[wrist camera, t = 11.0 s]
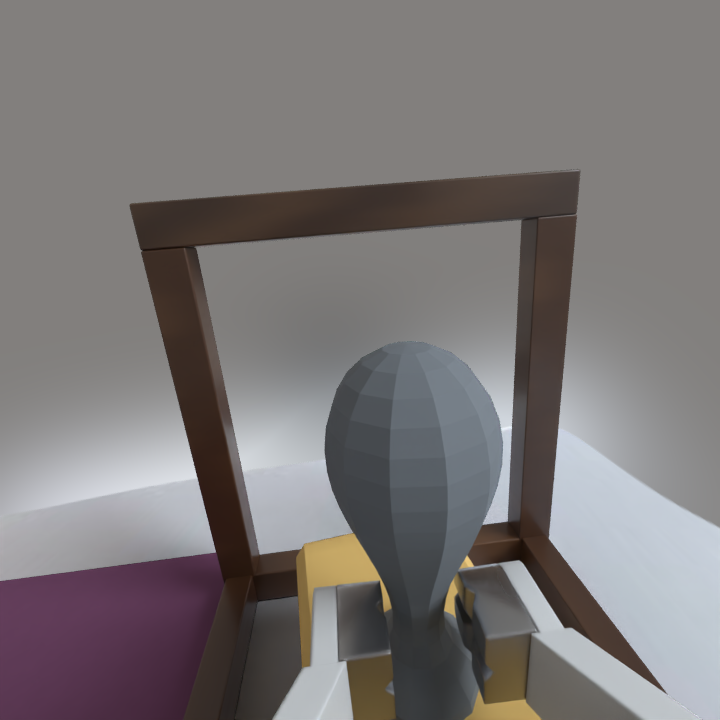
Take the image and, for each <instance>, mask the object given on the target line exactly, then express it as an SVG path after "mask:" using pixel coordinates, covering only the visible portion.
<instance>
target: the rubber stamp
mask: <svg viewBox="0 0 720 720" xmlns="http://www.w3.org/2000/svg"><path fill="white" fill-rule="evenodd" d="M502 454H503V440H502V433H501V427H500V421H499V417H498V415H497V412H496V410H495V407H494V404H493V402H492V399H491V397H490V395H489V394H488V393H487V391H486V390H485V388H484V387H483V386H482V385H481V383H480V381H479V380H478V379H477V378H476V376H475V375H474V373H473V372H472V371H471V369H470V368H469V367H468V365H467V364H465V363H464V362H463V361H462V360H460V359H459V358H458V357H456V356H455V355H454V354H453V353H451V352H449V351H446V350H444V349H441V348H438V347H436V346H433V345H430V344H427V343H424V342H414V341H407V342H397V343H392V344H388V345H386V346H384V347H382V348H380V349H378V350H376V351H374V352H372V353H370V354H368V355H366V356H364V357H362V358H361V359H360V360H359V361H358V362H357V363H356V364H355V365H354V366H353V367H352V368H351V369H350V370H349V371H348V372H347V373H346V375H345V376H344V378H343V380H342V382H341V383H340V385H339V387H338V388H337V391H336V394H335V397H334V400H333V404H332V407H331V411H330V415H329V418H328V422H327V425H326V436H325V458H326V467H327V473H328V476H329V480H330V483H331V487H332V491H333V493H334V495H335V498H336V500H337V502H338V505H339V507H340V509H341V511H342V513H343V515H344V517H345V519H346V521H347V522H348V524H349V526H350V528H351V529H352V531H353V533H351V534H347V535H342V536H338V537H333V538H329V539H324V540H320V541H315V542H311V543H306V544H304V545H303V547H302V549H301V550H300V552H299V554H298V555H297V557H296V565H297V584H298V602H299V621H300V639H301V658H302V668H303V667H308V666H310V649H311V626H312V602H313V592H314V588H316V587H325V586H334V585H340V584H350V583H359V582H369V581H378V580H380V584H381V590H382V596H383V607H384V616H385V617H386V621H387V627H388V634H389V640H390V647H391V655H392V666H393V679H392V680H393V687H394V694H395V709H396V719H391V720H542V719H541V718H540V717H539V716H538V715H537V714H536V713H535V711H534V710H533V709H532V708H531V707H530V706H529V705H528V704H527V703H526V699H525V700H517V701H509V702H501V703H492V704H484V702H483V699H482V696H481V693H480V690H479V688H478V685H477V682H476V679H475V676H474V674H473V671H472V653H471V652H470V651H469V650H468V649H467V648H466V647H465V646H464V645H463V642H462V639H461V636H460V633H459V629H458V625H457V621H456V615H455V608H454V597H455V595H456V594H457V593H458V591H457V589H456V586H455V583H454V577H455V575H456V573H457V572H458V570H459V569H461V568H468V567H474V565H473V564H472V562H471V561H470V559H469V557H468V556H467V555H468V553H469V551H470V549H471V548H472V546H473V544H474V541H475V539H476V537H477V535H478V533H479V531H480V529H481V526H482V524H483V522H484V519H485V517H486V515H487V512H488V510H489V508H490V506H491V503H492V500H493V497H494V495H495V492H496V489H497V486H498V482H499V477H500V472H501V468H502Z"/></svg>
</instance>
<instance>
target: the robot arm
mask: <svg viewBox="0 0 720 720" xmlns="http://www.w3.org/2000/svg"><path fill="white" fill-rule="evenodd" d="M454 583H455V586H456V589H457V591H458V593H457V594H456V595H455V597H454V608H455V615H456V621H457V625H458V629H459V633H460V636H461V639H462V642H463V645H464V646H465V647H466V648H467V649H468V650H469V651H470V652H471V653H472V671H473V674H474V676H475V679H476V682H477V685H478V688H479V690H480V693H481V696H482V699H483V702H484V704H492V703H501V702H509V701H517V700H525V699H526V703H527V704H528V705H529V706H530V707H531V708H532V709H533V710H534V711H535V713H536V714H537V715H538V716H539V717H540V718H541V719H542V720H703V719H701V718H700V717H698V716H697V715H696V714H694V713H693V712H691V711H690V710H688V709H687V708H686V707H684V706H683V705H681V704H680V703H678V702H677V701H676V700H674V699H673V698H671V697H670V696H668V695H667V694H666V693H664V692H663V691H661V690H660V689H658V688H657V687H656V686H654V685H653V684H651V683H650V682H648V681H647V680H646V679H644V678H643V677H641V676H640V675H638V674H637V673H636V672H634V671H633V670H631V669H630V668H628V667H627V666H626V665H624V664H623V663H621V662H620V661H618V660H617V659H615V658H614V657H613V656H611V655H610V654H608V653H607V652H605V651H604V650H603V649H601V648H600V647H598V646H597V645H595V644H594V643H593V642H591V641H590V640H588V639H587V638H585V637H584V636H583V635H581V634H580V633H578V632H577V631H575V630H574V629H573V628H564V627H563V625H562V624H561V622H560V621H559V619H558V618H557V616H556V614H555V613H554V611H553V610H552V608H551V607H550V605H549V603H548V602H547V600H546V599H545V597H544V596H543V594H542V592H541V591H540V589H539V588H538V586H537V585H536V583H535V581H534V580H533V578H532V577H531V575H530V574H529V572H528V570H527V569H526V567H525V566H524V564H523V563H522V562H520V561H519V560H518V561H511V562H504V563H498V564H496V563H494V564H488V565H481V566H474V567H468V568H461V569H459V570H458V572H457V573H456V575H455V577H454ZM392 679H393V666H392V655H391V647H390V640H389V634H388V627H387V621H386V617H385V616H384V607H383V596H382V590H381V584H380V580H378V581H369V582H359V583H350V584H340V585H334V586H325V587H316V588H314V592H313V602H312V626H311V649H310V666H308V667H303V668H302V669H301V671H300V673H299V674H298V676H297V678H296V680H295V681H294V683H293V685H292V686H291V688H290V690H289V691H288V693H287V695H286V697H285V698H284V700H283V702H282V703H281V705H280V707H279V708H278V710H277V712H276V714H275V715H274V717H273V719H272V720H391V719H396V709H395V694H394V687H393V680H392Z"/></svg>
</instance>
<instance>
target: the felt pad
mask: <svg viewBox="0 0 720 720" xmlns="http://www.w3.org/2000/svg"><path fill="white" fill-rule="evenodd" d="M223 588H224V582H223V578H222V574H221V570H220V566H219V562H218V558H217V554H216V553H210V554H202V555H195V556H187V557H180V558H172V559H165V560H157V561H149V562H142V563H134V564H127V565H119V566H112V567H104V568H97V569H89V570H81V571H74V572H66V573H59V574H51V575H44V576H36V577H29V578H21V579H13V580H6V581H0V720H183V718H184V715H185V712H186V708H187V705H188V702H189V699H190V695H191V692H192V689H193V686H194V682H195V679H196V676H197V672H198V669H199V666H200V663H201V659H202V656H203V653H204V650H205V646H206V643H207V640H208V637H209V633H210V630H211V627H212V623H213V620H214V617H215V614H216V610H217V607H218V604H219V601H220V597H221V594H222V591H223Z"/></svg>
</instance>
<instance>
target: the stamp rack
mask: <svg viewBox="0 0 720 720" xmlns="http://www.w3.org/2000/svg"><path fill="white" fill-rule="evenodd" d="M579 181H580V170H579V169H573V170H560V171H548V172H534V173H523V174H508V175H495V176H482V177H469V178H456V179H443V180H430V181H417V182H404V183H392V184H378V185H365V186H353V187H339V188H326V189H313V190H300V191H287V192H274V193H261V194H248V195H235V196H222V197H209V198H196V199H183V200H169V201H156V202H145V203H132V204H130V210H131V214H132V218H133V222H134V226H135V230H136V234H137V237H138V242H139V246H140V249H141V250H142V252H141V254H142V258H143V262H144V266H145V270H146V274H147V278H148V282H149V286H150V290H151V294H152V298H153V302H154V306H155V310H156V314H157V318H158V322H159V326H160V330H161V334H162V337H163V342H164V346H165V349H166V354H167V358H168V361H169V366H170V370H171V374H172V377H173V382H174V386H175V390H176V394H177V398H178V402H179V405H180V410H181V413H182V418H183V421H184V425H185V430H186V434H187V438H188V442H189V445H190V449H191V454H192V458H193V462H194V466H195V470H196V473H197V478H198V482H199V486H200V490H201V494H202V498H203V502H204V506H205V510H206V514H207V518H208V522H209V526H210V530H211V534H212V538H213V542H214V546H215V550H216V554H217V558H218V562H219V566H220V570H221V574H222V578H223V582H224V588H223V591H222V594H221V597H220V601H219V604H218V607H217V610H216V614H215V617H214V620H213V623H212V627H211V630H210V633H209V637H208V640H207V643H206V646H205V650H204V653H203V656H202V659H201V663H200V666H199V669H198V672H197V676H196V679H195V682H194V686H193V689H192V692H191V695H190V699H189V702H188V705H187V708H186V712H185V715H184V718H183V720H234V717H235V712H236V707H237V702H238V697H239V692H240V687H241V682H242V677H243V671H244V666H245V661H246V656H247V651H248V646H249V641H250V636H251V631H252V626H253V621H254V616H255V611H256V606H257V601H260V600H267V599H274V598H281V597H288V596H295V595H298V584H297V565H296V557H297V555H298V554H299V552H300V550H301V549H300V550H292V551H285V552H277V553H270V554H262V555H259V550H258V545H257V540H256V535H255V530H254V525H253V521H252V516H251V511H250V506H249V501H248V496H247V492H246V487H245V482H244V477H243V472H242V467H241V462H240V458H239V453H238V448H237V443H236V439H235V433H234V429H233V424H232V419H231V414H230V409H229V405H228V400H227V395H226V390H225V386H224V380H223V375H222V371H221V366H220V361H219V356H218V351H217V346H216V341H215V337H214V332H213V327H212V322H211V317H210V312H209V308H208V303H207V298H206V293H205V288H204V283H203V278H202V274H201V269H200V264H199V259H198V254H197V250H196V248H194V247H206V246H218V245H229V244H241V243H253V242H265V241H277V240H289V239H300V238H313V237H324V236H336V235H348V234H360V233H372V232H383V231H396V230H408V229H419V228H431V227H443V226H455V225H466V224H477V223H489V222H502V221H513V220H522V223H521V245H520V267H519V289H518V290H519V291H518V310H517V333H516V354H515V376H514V399H513V419H512V441H511V462H510V484H509V506H508V522H502V523H494V524H487V525H482V526H481V529H480V531H479V533H478V535H477V537H476V539H475V541H474V544H473V546H472V548H471V549H470V551H469V553H468V555H467V556H468V557H469V559H470V561H471V562H472V564H473V565H474V566H481V565H488V564H494V563H496V564H498V563H504V562H511V561H518V560H519V561H520V562H522V563H523V564H524V566H525V567H526V569H527V570H528V572H529V574H530V575H531V577H532V578H533V580H534V581H535V583H536V585H537V586H538V588H539V589H540V591H541V592H542V594H543V596H544V597H545V599H546V600H547V602H548V603H549V605H550V607H551V608H552V610H553V611H554V613H555V614H556V616H557V618H558V619H559V621H560V622H561V624H562V625H563V627H564V628H573V629H574V630H575V631H577V632H578V633H580V634H581V635H583V636H584V637H585V638H587V639H588V640H590V641H591V642H593V643H594V644H595V645H597V646H598V647H600V648H601V649H603V650H604V651H605V652H607V653H608V654H610V655H611V656H613V657H614V658H615V659H617V660H618V661H620V662H621V663H623V664H624V665H626V666H627V667H628V668H630V669H631V670H633V671H634V672H636V673H637V674H638V675H640V676H641V677H643V678H644V679H646V680H647V681H648V682H650V683H651V684H653V685H654V686H656V687H657V688H658V689H660V690H661V691H663V692H664V693H666V692H665V690H664V689H663V688H662V686H661V685H660V684H659V683H658V681H657V680H656V679H655V677H654V676H653V675H652V673H651V672H650V671H649V669H648V668H647V667H646V666H645V664H644V663H643V662H642V660H641V659H640V658H639V656H638V655H637V654H636V652H635V651H634V650H633V649H632V647H631V646H630V645H629V643H628V642H627V641H626V639H625V638H624V637H623V635H622V634H621V633H620V632H619V630H618V629H617V628H616V626H615V625H614V624H613V622H612V621H611V620H610V618H609V617H608V616H607V615H606V613H605V612H604V611H603V609H602V608H601V607H600V605H599V604H598V603H597V601H596V600H595V599H594V598H593V596H592V595H591V594H590V592H589V591H588V590H587V588H586V587H585V586H584V584H583V583H582V582H581V581H580V579H579V578H578V577H577V575H576V574H575V573H574V571H573V570H572V569H571V567H570V566H569V565H568V564H567V562H566V561H565V560H564V558H563V557H562V556H561V554H560V553H559V552H558V550H557V549H556V548H555V547H554V545H553V544H552V543H551V541H550V540H549V528H550V517H551V505H552V494H553V482H554V471H555V460H556V448H557V437H558V424H559V413H560V402H561V391H562V379H563V368H564V357H565V345H566V334H567V322H568V311H569V299H570V287H571V277H572V266H573V254H574V242H575V231H576V219H577V215H576V212H577V204H578V192H579ZM666 694H667V693H666ZM667 695H668V694H667Z"/></svg>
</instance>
